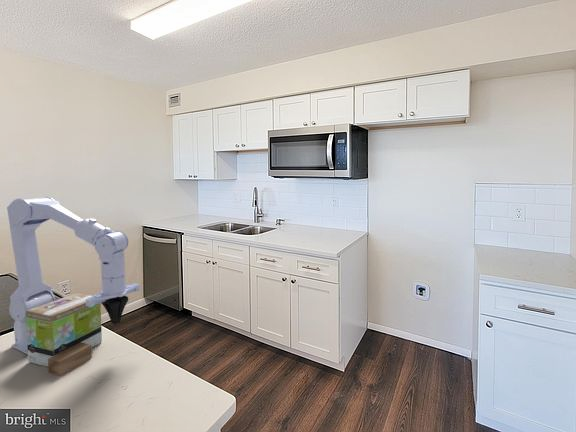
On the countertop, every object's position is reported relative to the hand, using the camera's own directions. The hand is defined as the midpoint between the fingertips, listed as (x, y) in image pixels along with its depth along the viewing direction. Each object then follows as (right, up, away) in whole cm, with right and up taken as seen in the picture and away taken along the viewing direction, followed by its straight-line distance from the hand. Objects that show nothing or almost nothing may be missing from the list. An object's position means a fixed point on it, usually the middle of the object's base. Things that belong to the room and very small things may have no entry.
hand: (115, 322), depth 90 cm
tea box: (-15, -9, +2) cm, 18 cm away
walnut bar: (-10, -10, -4) cm, 15 cm away
